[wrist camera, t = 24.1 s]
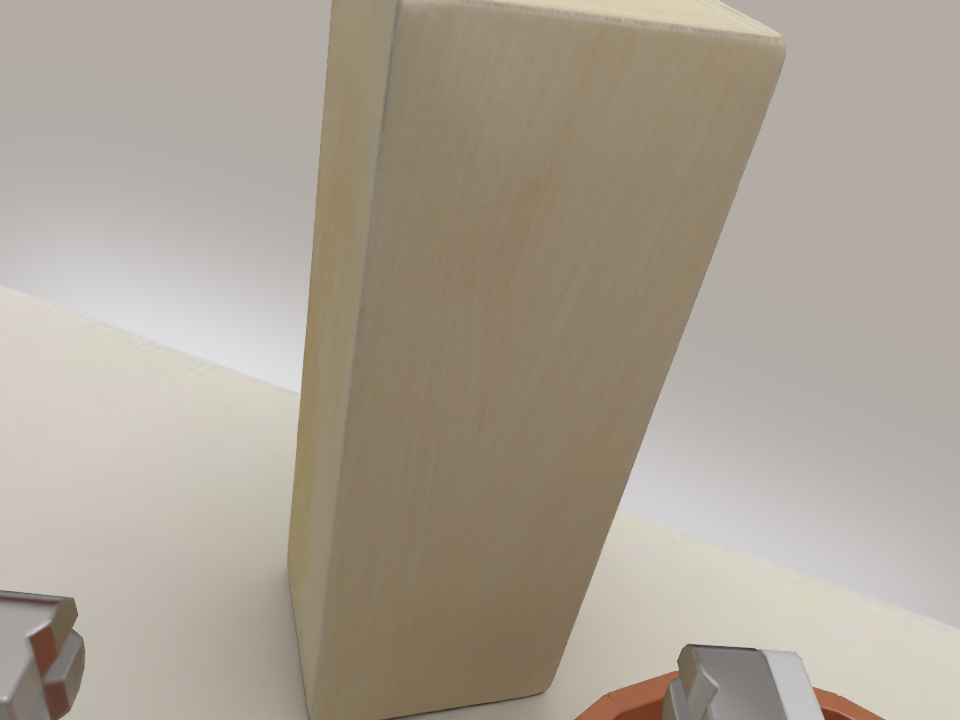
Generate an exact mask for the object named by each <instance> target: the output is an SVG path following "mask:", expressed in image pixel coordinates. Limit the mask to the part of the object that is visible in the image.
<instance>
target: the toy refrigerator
mask: <svg viewBox="0 0 960 720" xmlns="http://www.w3.org/2000/svg"><path fill="white" fill-rule="evenodd" d="M785 54H786V41H785V38H784V36H782V35H781V34H779V33H778V32H776V31H774V30H772V29H771V28H769V27H767V26H765V25H764V24H762V23H760V22H758V21H756V20H754V19H752V18H750V17H748V16H746V15H745V14H743V13H741V12H739V11H737V10H736V9H734V8H732V7H730V6H728V5H726V4H725V3H723V2H721V1H719V0H332V7H331V21H330V33H329V46H328V59H327V72H326V85H325V97H324V108H323V120H322V133H321V145H320V159H319V172H318V184H317V197H316V210H315V223H314V237H313V251H312V263H311V275H310V289H309V302H308V315H307V327H306V338H305V349H304V360H303V373H302V387H301V400H300V411H299V423H298V434H297V450H296V462H295V474H294V485H293V496H292V507H291V518H290V530H289V542H288V574H289V582H290V591H291V599H292V605H293V612H294V619H295V626H296V632H297V639H298V646H299V653H300V660H301V667H302V674H303V681H304V688H305V694H306V701H307V707H308V713H309V720H381V719H387V718H394V717H400V716H406V715H412V714H419V713H425V712H431V711H438V710H444V709H450V708H456V707H462V706H468V705H474V704H480V703H489V702H496V701H502V700H508V699H514V698H519V697H525V696H531V695H535V694H538V693H541V692H543V691H545V690H546V689H548V687H549V686H550V685H551V683H552V681H553V679H554V676H555V673H556V671H557V668H558V666H559V663H560V660H561V658H562V655H563V652H564V650H565V647H566V644H567V641H568V639H569V636H570V634H571V631H572V628H573V626H574V623H575V621H576V618H577V615H578V613H579V610H580V607H581V604H582V602H583V599H584V597H585V594H586V591H587V588H588V586H589V583H590V581H591V578H592V575H593V573H594V570H595V567H596V565H597V562H598V559H599V556H600V553H601V551H602V548H603V545H604V542H605V540H606V537H607V534H608V532H609V529H610V527H611V524H612V521H613V519H614V516H615V513H616V511H617V508H618V505H619V503H620V500H621V497H622V495H623V492H624V489H625V487H626V484H627V481H628V479H629V476H630V473H631V470H632V467H633V465H634V462H635V459H636V457H637V454H638V451H639V449H640V446H641V443H642V441H643V438H644V435H645V432H646V430H647V427H648V424H649V421H650V419H651V416H652V413H653V410H654V408H655V405H656V402H657V400H658V397H659V395H660V392H661V389H662V387H663V384H664V381H665V379H666V376H667V374H668V371H669V369H670V366H671V363H672V360H673V358H674V355H675V353H676V350H677V348H678V345H679V342H680V340H681V337H682V335H683V332H684V329H685V327H686V324H687V321H688V319H689V316H690V313H691V311H692V308H693V305H694V303H695V300H696V298H697V295H698V292H699V290H700V287H701V284H702V282H703V279H704V277H705V273H706V271H707V269H708V266H709V263H710V261H711V258H712V255H713V253H714V250H715V247H716V245H717V242H718V239H719V237H720V234H721V232H722V229H723V226H724V223H725V221H726V218H727V216H728V213H729V211H730V208H731V205H732V202H733V200H734V198H735V195H736V192H737V189H738V186H739V183H740V180H741V178H742V175H743V173H744V170H745V167H746V165H747V162H748V160H749V157H750V154H751V151H752V149H753V147H754V144H755V141H756V139H757V136H758V134H759V131H760V128H761V125H762V123H763V120H764V117H765V114H766V112H767V109H768V106H769V103H770V101H771V98H772V96H773V93H774V91H775V87H776V85H777V82H778V79H779V76H780V73H781V70H782V66H783V63H784V59H785Z"/></svg>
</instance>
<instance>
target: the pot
mask: <svg viewBox="0 0 960 720" xmlns="http://www.w3.org/2000/svg"><path fill="white" fill-rule="evenodd" d="M679 675H680V671H678V672H677V671H674V672H671V673H668V674H665V675H662V676H659V677H656V678H653V679H649V680H646V681H643V682H640V683H637V684H634V685H631V686H628V687H625V688H622V689H619V690H616V691H613V692H610V693H608V694H607V695H604V696H603V697H601V698H600V699H599V700H598V701H596V702H595V703H594V704H593V705H592V706H590V707H589V708H588V709H587V710H585V711H584V712H583V713H582V714H581V715H579V716H578V717H577V718H576V719H575V720H662V713H663V702H664V696H665V693H666V690H667V687H668V684H669V682H670V681H671V680H673V679H674V678H676V677H677V676H679ZM812 688H813V690H814V693H815V695H816V698H817V700H818V703H819V706H820V708H821V711H822V713H823V716H824V719H825V720H885V719H883V718H881V717H879V716H877V715H875V714H874V713H872V712H870V711H868V710H866V709H864V708H862V707H861V706H859V705H857V704H855V703H853V702H851V701H849V700H848V699H846V698H844V697H842V696H838V695H837V694H835V693H831V692H828V691H824V690H821V689H817V688H814V687H812Z"/></svg>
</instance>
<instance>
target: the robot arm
mask: <svg viewBox="0 0 960 720" xmlns="http://www.w3.org/2000/svg"><path fill="white" fill-rule="evenodd" d="M77 617H78V612H77V608H76V604H75V600H74V598H70V597H61V596H51V595H42V594H32V593H23V592H13V591H3V590H0V720H59V719H60V718H62V717H63V716H64V715H65V714H67V713H68V712H69V711H70V710H71V708H72V705H73V703H74V701H75V698H76V696H77V694H78V691H79V688H80V684H81V679H82V675H83V671H84V664H85V648H84V642H83V638H82V637H81V636H80V635H79V634H78V633H76V632H75V631H74V630H73V629H72V627H73V625H74V623H75V621H76V619H77ZM677 662H678V667H679V671H680V675H679V676H677V677H676V678H674V679H673V680H671V681H670V682H669V684H668V687H667V690H666V693H665V696H664V702H663V713H662V720H825V719H824V716H823V713H822V711H821V708H820V706H819V703H818V700H817V698H816V695H815V693H814V690H813V688H812V685H811V682H810V680H809V677H808V675H807V672H806V669H805V667H804V664H803V662H802V659H801V658H800V657H799V656H798V655H797V654H796V653H795V652H786V651H773V650H757V649H755V648H742V647H726V646H710V645H695V644H687V645H686V646H685V647H684V648H683V649H682V650H681V653H680V655H679V658H678V660H677Z"/></svg>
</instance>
